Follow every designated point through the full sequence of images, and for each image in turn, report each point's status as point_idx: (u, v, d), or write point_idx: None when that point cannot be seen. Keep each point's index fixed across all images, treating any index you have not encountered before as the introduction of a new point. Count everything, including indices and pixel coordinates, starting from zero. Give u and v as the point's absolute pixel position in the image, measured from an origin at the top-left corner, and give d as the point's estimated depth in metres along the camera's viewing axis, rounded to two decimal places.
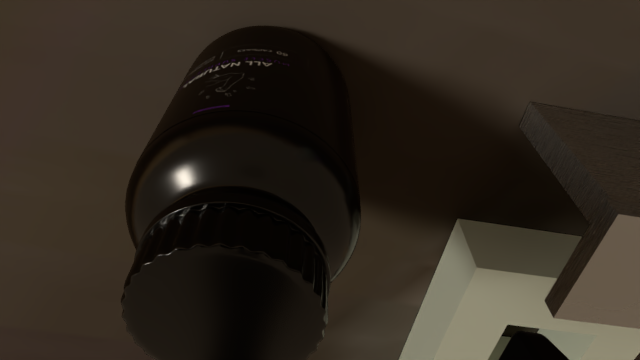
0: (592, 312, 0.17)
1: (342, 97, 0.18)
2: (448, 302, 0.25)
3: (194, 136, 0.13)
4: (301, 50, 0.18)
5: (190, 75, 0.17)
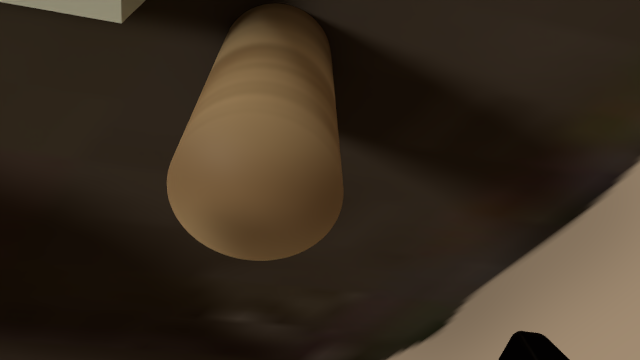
0: None
1: None
2: None
3: None
4: None
5: None
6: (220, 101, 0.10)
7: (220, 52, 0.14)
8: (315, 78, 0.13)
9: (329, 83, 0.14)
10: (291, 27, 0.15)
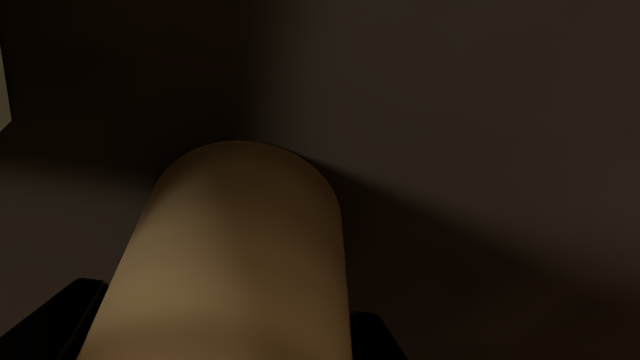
0: None
1: None
2: None
3: None
4: None
5: None
6: None
7: (114, 280, 0.07)
8: None
9: None
10: (264, 227, 0.07)
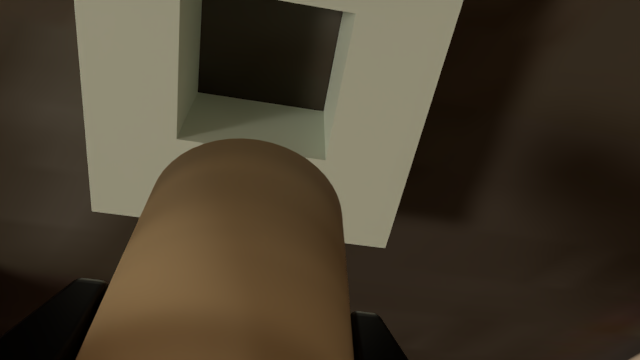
0: None
1: None
2: None
3: None
4: None
5: None
6: None
7: (114, 278, 0.07)
8: None
9: None
10: (265, 224, 0.07)
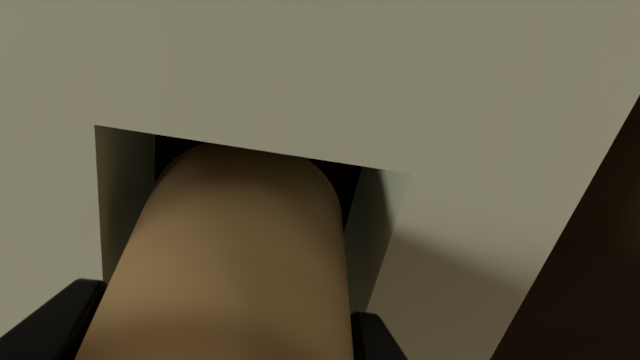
0: None
1: None
2: None
3: None
4: None
5: None
6: None
7: (113, 278, 0.07)
8: None
9: None
10: (264, 224, 0.07)
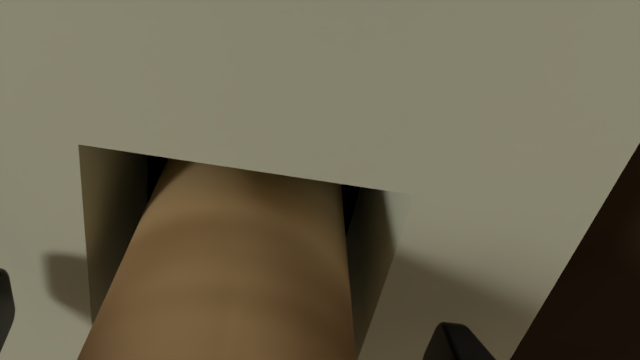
0: None
1: None
2: None
3: None
4: None
5: None
6: None
7: (151, 200, 0.08)
8: (315, 296, 0.06)
9: (340, 277, 0.07)
10: None
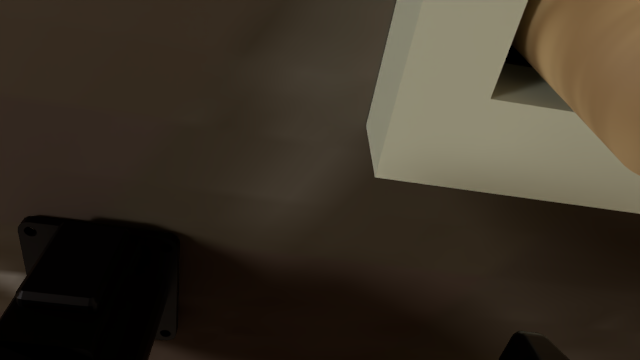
0: None
1: None
2: None
3: None
4: None
5: None
6: None
7: None
8: None
9: None
10: None
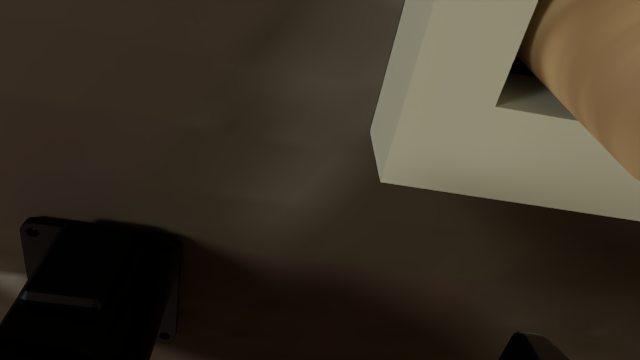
0: None
1: None
2: None
3: None
4: None
5: None
6: None
7: None
8: None
9: None
10: None
